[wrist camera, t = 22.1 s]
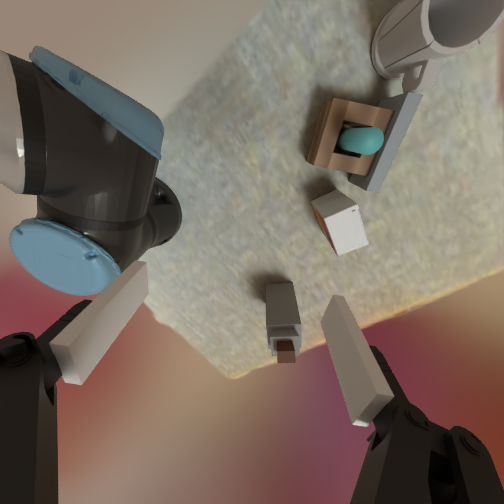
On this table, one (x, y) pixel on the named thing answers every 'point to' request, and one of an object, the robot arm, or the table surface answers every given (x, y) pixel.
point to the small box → (340, 221)
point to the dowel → (360, 140)
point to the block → (343, 117)
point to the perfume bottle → (283, 322)
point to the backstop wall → (389, 140)
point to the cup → (430, 37)
